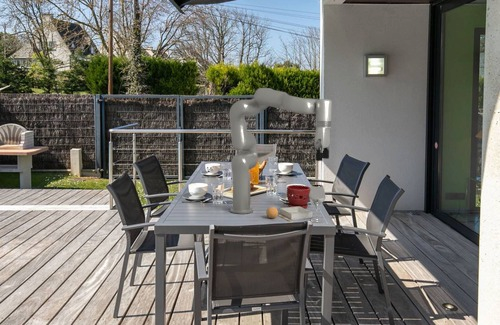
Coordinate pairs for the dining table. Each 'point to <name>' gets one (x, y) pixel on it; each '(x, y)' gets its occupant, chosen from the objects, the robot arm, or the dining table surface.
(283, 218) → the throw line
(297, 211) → the tray
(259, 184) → the dining table surface
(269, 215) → the ball
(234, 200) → the robot arm
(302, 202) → the plant pot
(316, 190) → the wineglass
